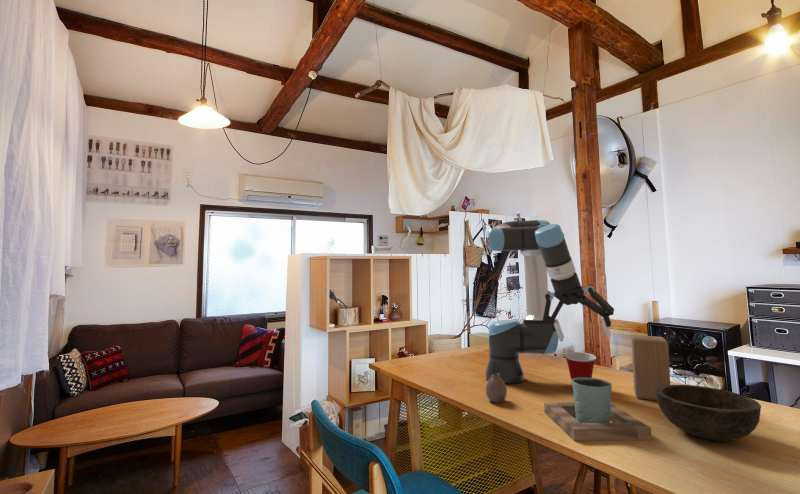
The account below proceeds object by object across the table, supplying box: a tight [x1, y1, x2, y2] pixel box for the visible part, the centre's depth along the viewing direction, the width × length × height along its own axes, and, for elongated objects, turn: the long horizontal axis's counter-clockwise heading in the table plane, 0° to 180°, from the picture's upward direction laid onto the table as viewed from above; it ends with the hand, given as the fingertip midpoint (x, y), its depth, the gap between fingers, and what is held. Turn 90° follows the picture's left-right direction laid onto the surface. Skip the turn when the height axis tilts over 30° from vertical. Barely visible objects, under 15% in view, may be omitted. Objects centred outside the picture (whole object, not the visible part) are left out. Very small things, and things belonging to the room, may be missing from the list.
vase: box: [485, 374, 508, 404], centre depth 130 cm, size 7×7×9 cm
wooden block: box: [630, 334, 671, 402], centre depth 133 cm, size 10×10×20 cm
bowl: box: [656, 384, 762, 442], centre depth 101 cm, size 22×22×10 cm
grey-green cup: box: [571, 377, 612, 423], centre depth 109 cm, size 10×10×12 cm
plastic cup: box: [564, 351, 597, 381], centre depth 143 cm, size 11×11×12 cm
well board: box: [543, 401, 653, 442], centre depth 109 cm, size 20×20×3 cm
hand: (584, 337), depth 118 cm, fingers open, 13 cm apart
